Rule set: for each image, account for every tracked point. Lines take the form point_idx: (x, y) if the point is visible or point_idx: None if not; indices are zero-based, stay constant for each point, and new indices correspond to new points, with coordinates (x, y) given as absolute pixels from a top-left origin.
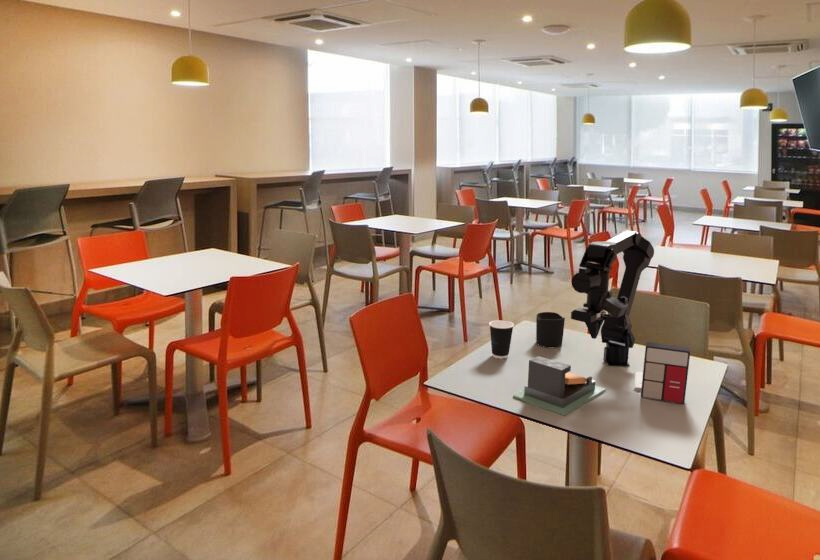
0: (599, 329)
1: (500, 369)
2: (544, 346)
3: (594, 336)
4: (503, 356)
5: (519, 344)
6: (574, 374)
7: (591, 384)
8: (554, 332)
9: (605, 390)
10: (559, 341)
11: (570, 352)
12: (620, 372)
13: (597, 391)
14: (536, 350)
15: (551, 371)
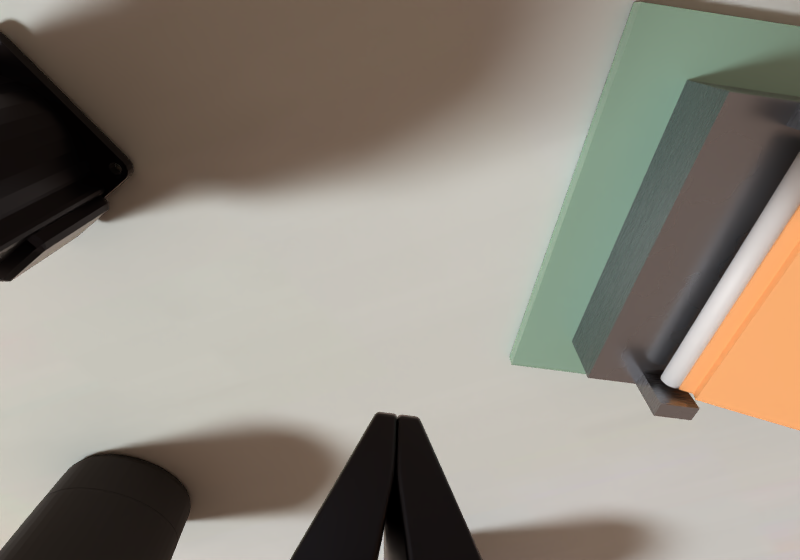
0: (320, 539)
1: (563, 522)
2: (186, 493)
3: (428, 454)
4: None
5: (246, 550)
6: (790, 265)
7: (791, 100)
8: (115, 551)
9: (636, 2)
10: (110, 481)
11: (141, 400)
12: (172, 43)
13: (729, 43)
14: (253, 498)
15: None
